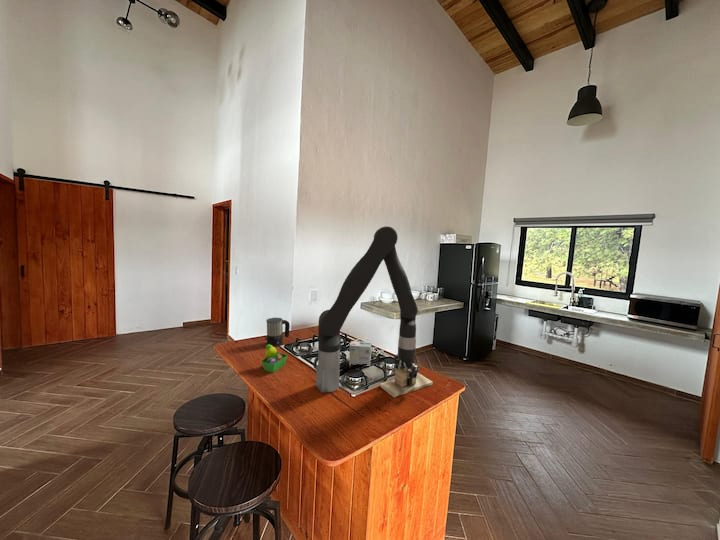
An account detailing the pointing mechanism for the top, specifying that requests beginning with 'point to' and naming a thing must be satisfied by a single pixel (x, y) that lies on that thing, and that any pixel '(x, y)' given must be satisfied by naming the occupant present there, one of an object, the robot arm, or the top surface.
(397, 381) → the block
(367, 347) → the light bulb box
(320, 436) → the top surface
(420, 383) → the board
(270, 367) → the fruit basket
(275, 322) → the milk frother
